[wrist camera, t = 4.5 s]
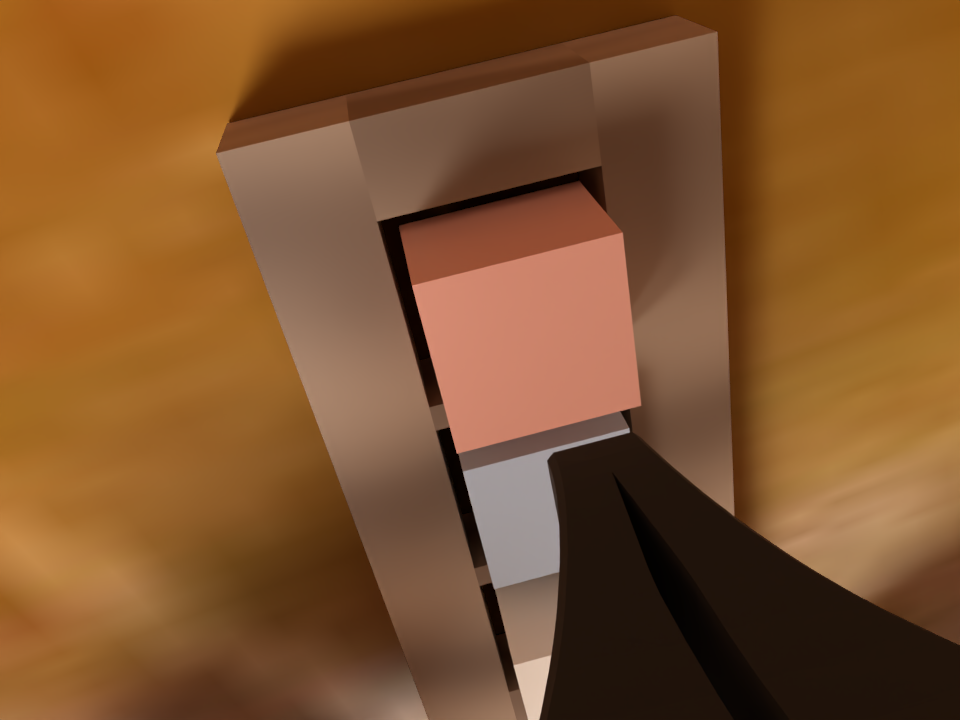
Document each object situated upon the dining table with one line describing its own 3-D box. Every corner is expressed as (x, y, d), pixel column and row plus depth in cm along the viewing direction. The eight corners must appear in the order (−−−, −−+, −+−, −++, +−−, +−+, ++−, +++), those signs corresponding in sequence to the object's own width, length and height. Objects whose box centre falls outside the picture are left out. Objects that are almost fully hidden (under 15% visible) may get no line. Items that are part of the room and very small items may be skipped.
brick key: (600, 337, 20) (641, 405, 17) (439, 378, 20) (456, 453, 17) (579, 180, 18) (622, 232, 15) (398, 226, 17) (411, 285, 15)
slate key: (609, 476, 24) (643, 549, 21) (475, 512, 23) (494, 589, 21) (592, 362, 22) (629, 427, 19) (446, 400, 21) (462, 471, 19)
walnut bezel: (712, 619, 28) (739, 671, 27) (433, 695, 28) (441, 753, 26) (675, 14, 18) (717, 31, 16) (227, 123, 17) (216, 153, 16)
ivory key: (639, 633, 26) (674, 717, 23) (516, 667, 25) (537, 755, 23) (627, 542, 23) (664, 624, 21) (492, 579, 23) (513, 665, 21)
